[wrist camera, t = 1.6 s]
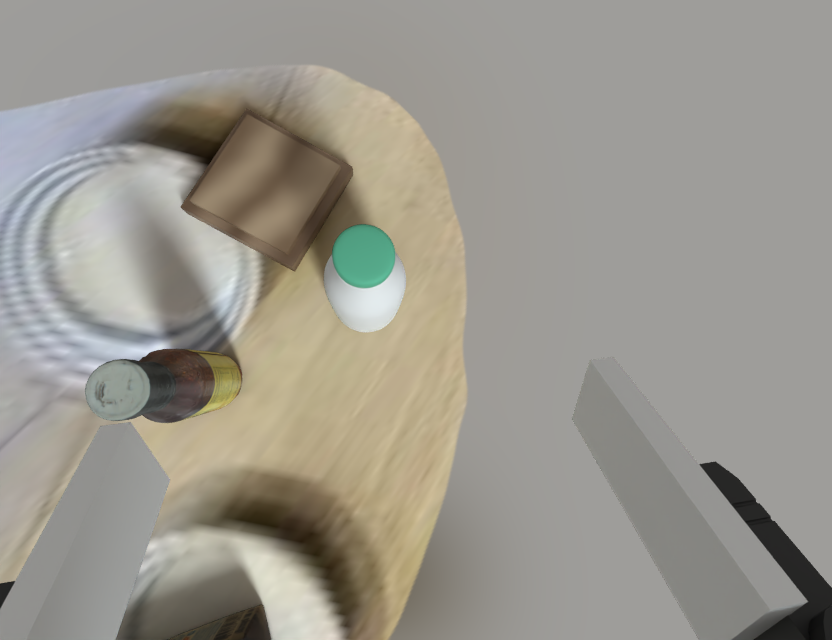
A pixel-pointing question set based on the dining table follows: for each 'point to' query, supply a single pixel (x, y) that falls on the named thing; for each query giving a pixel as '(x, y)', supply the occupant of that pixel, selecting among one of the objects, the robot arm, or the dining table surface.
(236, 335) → the dining table surface
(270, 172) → the podium
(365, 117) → the dining table surface
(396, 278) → the milk bottle
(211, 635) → the dark brown block
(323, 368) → the dining table surface
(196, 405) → the sauce bottle
